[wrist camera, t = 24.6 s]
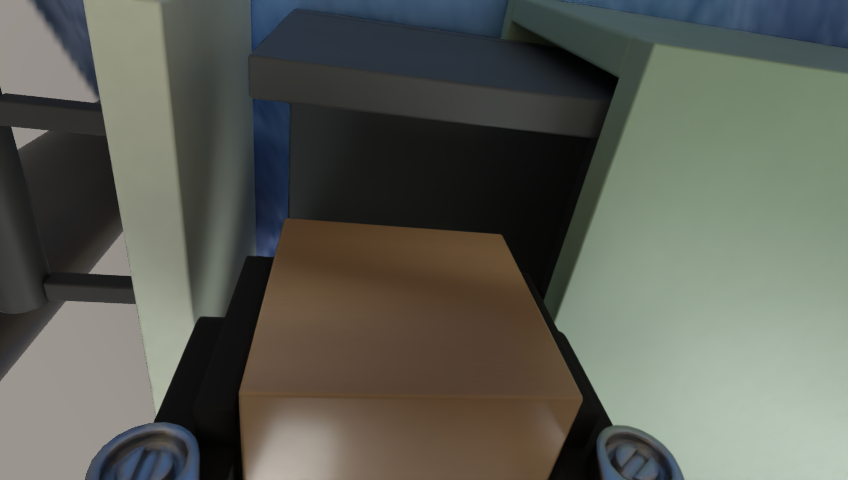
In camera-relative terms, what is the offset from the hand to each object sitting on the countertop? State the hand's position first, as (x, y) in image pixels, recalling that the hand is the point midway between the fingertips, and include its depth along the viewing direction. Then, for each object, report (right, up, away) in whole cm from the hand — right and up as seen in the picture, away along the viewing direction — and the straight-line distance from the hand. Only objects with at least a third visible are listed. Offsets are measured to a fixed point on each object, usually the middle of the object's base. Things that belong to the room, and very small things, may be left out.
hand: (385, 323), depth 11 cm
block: (0, 0, 0) cm, 0 cm away
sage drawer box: (+10, +4, +10) cm, 15 cm away
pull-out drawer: (-2, +5, +7) cm, 9 cm away
